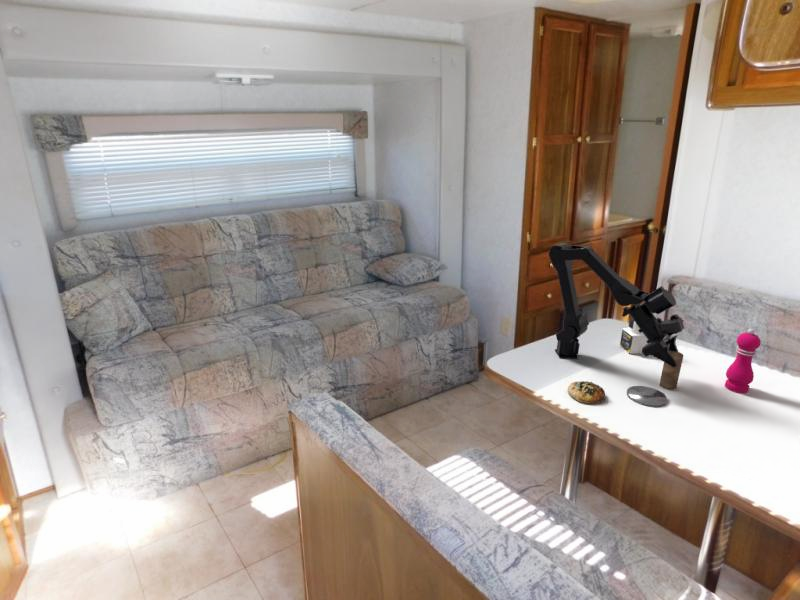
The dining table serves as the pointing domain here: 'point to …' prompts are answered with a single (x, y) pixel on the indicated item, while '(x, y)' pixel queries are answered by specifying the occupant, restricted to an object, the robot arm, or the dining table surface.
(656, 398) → the pad
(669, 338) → the robot arm
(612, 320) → the dining table surface
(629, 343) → the medicine bottle
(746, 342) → the pepper mill
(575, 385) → the bread roll
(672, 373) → the walnut post
